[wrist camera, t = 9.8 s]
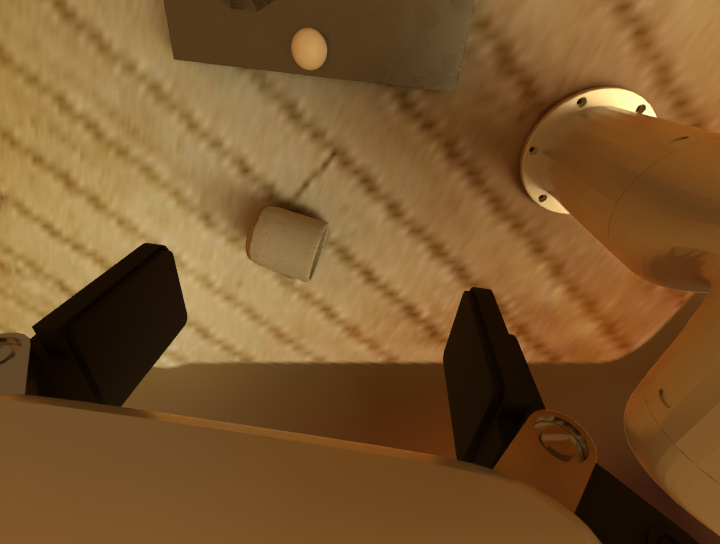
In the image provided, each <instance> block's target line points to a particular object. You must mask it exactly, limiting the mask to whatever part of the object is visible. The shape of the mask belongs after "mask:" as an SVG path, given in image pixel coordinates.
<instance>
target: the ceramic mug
mask: <svg viewBox="0 0 720 544" xmlns="http://www.w3.org/2000/svg"><path fill="white" fill-rule="evenodd" d="M328 228H329V224H328V223H327V222H325V221H321V220H318V219H315V218H312V217H308V216H305V215H302V214H298V213H295V212H292V211H289V210H286V209H283V208H279V207H273V206H265V207H263V208H261V209H260V210H259V211H258V212H257V214H256V215H255V217H254V219H253V221H252V223H251V226H250V228H249V232H248V235H247V240H246V253H247V256H248V258H249V259H250V260H252V261H253V262H255V263H257V264H258V265H261V266H263V267H266V268H269V269H270V270H272V271H273V272H275V273H277V274H278V275H281V276H283V277H286V278H290V279H298V280H301V281H303V282H307V283H308V282H310V281H311V279H312V277H313V275H314V272H315V270H316V267H317V265H318V262H319V259H320V256H321V253H322V251H323V247H324V244H325V241H326V237H327V233H328Z"/></svg>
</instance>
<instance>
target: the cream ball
mask: <svg viewBox="0 0 720 544" xmlns="http://www.w3.org/2000/svg"><path fill="white" fill-rule="evenodd" d="M291 51H292V55H293V58H294V60H295V61H296V63H297V64H298V65H299V66H300V67H302V68H304V69H306V70H315V69H317V68H319V67H320V66H322V64H323V63H324V62H325V59H326V56H327V45H326V42H325V40H324V38H323V36H322V35H321V34H320V33H319V32H318V31H317V30H315V29H312V28H304V29H301V30H299V31H298V32H297V33H296V34H295V36H294V37H293V40H292V44H291Z"/></svg>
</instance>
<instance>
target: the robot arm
mask: <svg viewBox="0 0 720 544" xmlns="http://www.w3.org/2000/svg"><path fill="white" fill-rule="evenodd" d="M578 99H580V102H579V103H578V104H577V101H578ZM637 107H638V108H637ZM636 108H637V110H636ZM531 147H533V149H532V150H531V151H529V149H530V148H531ZM520 177H521V181H522V184H523V186H524V188H525V191H526V192H527V194H528V195H529V196H530V197H531V199H532V200H533V201H534V202H535V203H536V204H538V205H539V206H541V207H543V208H544V209H546V210H548V211H551V212H554V213H559V214H571V215H572V216H573V217H575V218H576V219H577V220H578V221H579V222H580V223H581V224H582V225H583V226H584V227H585V228H586V229H587V230H588V231H589V232H590V233H591V234H592V235H593V236H594V237H595V238H597V239H598V240H599V241H600V242H601V243H602V244H603V245H604V246H605V247H606V248H607V249H608V250H609V251H610V252H611V253H612V254H613V255H615V256H616V257H617V258H618V259H619V260H620V261H621V262H622V263H623V264H624V265H626V266H627V267H628V268H629V269H630V270H631V271H632V272H634V273H635V274H636V275H638V276H639V277H641V278H643V279H644V280H646V281H648V282H650V283H653V284H656V285H659V286H662V287H665V288H669V289H674V290H680V291H689V292H708V295H707V296H706V298H705V300H704V302H703V303H702V305H701V306H700V307H699V309H698V310H697V311H696V312H695V314H694V315H693V316H692V318H691V319H690V320H689V321H688V323H687V326H686V327H685V328H684V329H683V331H682V332H681V333H680V334H679V335H678V337H677V338H676V339H675V340H674V341H673V343H672V344H671V345H670V346H669V347H668V349H667V350H666V351H665V352H664V353H663V355H662V356H661V357H660V358H659V360H658V361H657V362H656V363H655V364H654V366H653V367H652V368H651V369H650V370H649V372H648V373H647V375H646V376H645V377H644V379H643V380H642V381H641V382H640V384H639V385H638V386H637V388H636V389H635V391H634V392H633V394H632V395H631V397H630V399H629V401H628V403H627V406H626V409H625V414H624V428H625V433H626V436H627V439H628V442H629V444H630V447H631V448H632V450H633V452H634V454H635V455H636V457H637V458H638V460H639V462H640V463H641V465H642V466H643V467H644V469H645V470H646V471H647V472H648V474H649V475H650V476H651V477H652V478H653V479H654V480H655V482H656V483H657V484H658V485H659V486H660V487H661V488H662V489H663V490H664V491H665V492H667V494H668V495H670V497H672V498H673V499H674V500H675V501H676V502H677V503H678V504H680V505H681V506H682V507H683V508H684V509H685V510H686V511H688V512H689V513H690V514H691V515H693V516H694V517H695V518H696V519H698V520H699V521H700V522H702V523H703V524H704V525H706V526H707V527H708V528H710V529H711V530H712V531H714V532H715V533H716V534H718V535H719V536H720V134H719V133H715V132H711V131H708V130H704V129H700V128H696V127H692V126H688V125H684V124H680V123H676V122H672V121H668V120H664V119H660V118H657V115H656V113H655V111H654V109H653V107H652V106H651V104H650V103H649V102H648V101H647V100H646V99H645V98H644V97H643V96H641V95H639V94H637V93H636V92H634V91H632V90H628V89H624V88H619V87H610V86H605V87H594V88H590V89H587V90H583V91H580V92H577V93H575V94H573V95H571V96H569V97H567V98H565V99H564V100H562V101H561V102H559V103H558V104H556V105H555V106H553V107H552V108H551V109H550V110H549V111H548V112H547V113H546V114H544V115H543V116H542V118H541V119H540V120H539V121H538V122H537V124H536V125H535V126H534V127H533V129H532V131H531V132H530V134H529V136H528V137H527V139H526V142H525V144H524V147H523V149H522V153H521V158H520ZM540 195H542V196H541V197H539V196H540ZM186 322H187V312H186V307H185V303H184V299H183V295H182V290H181V286H180V282H179V277H178V273H177V269H176V265H175V260H174V256H173V253H172V252H171V251H169V250H168V248H167V247H166V246H164V245H158V244H150V243H144V244H142V245H141V246H140V247H138V248H137V249H135V250H134V251H133V252H131V253H130V254H129V255H127V256H126V257H125V258H123V259H122V260H121V261H119V262H118V263H117V264H115V265H114V266H113V267H111V268H110V269H109V270H107V271H106V272H105V273H103V274H102V275H101V276H99V277H98V278H97V279H95V280H94V281H93V282H91V283H90V284H89V285H87V286H86V287H85V288H83V289H82V290H81V291H79V292H78V293H76V294H75V295H74V296H72V297H71V298H70V299H68V300H67V301H66V302H64V303H63V304H62V305H60V306H59V307H58V308H56V309H55V310H54V311H52V312H51V313H50V314H48V315H47V316H46V317H44V318H43V319H42V320H40V321H39V322H38V323H36V324H35V325H34V326H32V328H33V329H34V331H35V333H36V335H35V336H34V337H32V338H31V339H30V338H28V337H27V336H26V335H24V334H20V333H3V334H0V544H699V543H698V542H697V541H696V540H694V539H693V538H692V537H691V536H690V535H689V534H688V533H686V532H685V531H684V530H682V529H681V528H680V527H678V526H677V525H676V524H675V523H673V522H672V521H671V520H670V519H668V518H667V517H666V516H664V515H663V514H662V513H660V512H659V511H658V510H657V509H655V508H654V507H653V506H651V505H650V504H649V503H647V502H646V501H645V500H643V499H642V498H641V497H640V496H639V495H637V494H636V493H635V492H633V491H632V490H631V489H629V488H628V487H627V486H625V485H624V484H623V483H622V482H620V481H619V480H618V479H617V478H615V477H614V476H612V475H611V474H610V473H609V472H608V471H606V470H604V468H602V467H601V466H599V465H598V464H597V463H596V459H597V452H596V448H595V445H594V443H593V441H592V439H591V438H590V436H589V435H588V434H587V432H586V431H585V430H584V429H583V428H582V427H581V426H580V425H579V424H577V423H576V422H575V421H574V420H572V419H571V418H569V417H567V416H565V415H564V414H562V413H558V412H556V411H553V410H546V409H545V406H544V404H543V402H542V399H541V397H540V394H539V392H538V389H537V387H536V384H535V382H534V380H533V377H532V375H531V372H530V370H529V367H528V365H527V362H526V360H525V357H524V355H523V353H522V350H521V348H520V345H519V343H518V340H517V339H516V337H515V336H514V335H512V334H509V333H508V331H507V328H506V326H505V323H504V320H503V318H502V315H501V313H500V310H499V307H498V305H497V302H496V300H495V297H494V294H493V292H492V290H490V289H483V288H476V287H472V288H471V289H470V291H464V293H463V295H462V298H461V302H460V305H459V308H458V311H457V314H456V317H455V320H454V323H453V326H452V329H451V332H450V335H449V338H448V341H447V344H446V347H445V351H444V356H443V364H444V371H445V378H446V385H447V392H448V399H449V406H450V413H451V421H452V428H453V435H454V442H455V449H456V456H457V460H455V459H450V458H446V457H441V456H435V455H429V454H424V453H418V452H412V451H406V450H400V449H394V448H389V447H383V446H377V445H370V444H363V443H357V442H351V441H345V440H337V439H332V438H325V437H319V436H312V435H306V434H300V433H293V432H286V431H279V430H273V429H267V428H260V427H252V426H247V425H240V424H233V423H227V422H220V421H213V420H206V419H200V418H193V417H187V416H180V415H173V414H166V413H158V412H152V411H145V410H138V409H131V408H124V407H121V406H122V405H123V403H124V402H125V401H126V400H127V398H128V397H129V396H130V394H131V393H132V392H133V391H134V389H135V388H136V387H137V385H138V384H139V383H140V382H141V380H142V379H143V378H144V376H145V375H146V374H147V373H148V372H149V370H150V369H151V368H152V366H153V365H154V364H155V363H156V361H157V360H158V359H159V358H160V356H161V355H162V354H163V353H164V351H165V350H166V349H167V347H168V346H169V345H170V344H171V342H172V341H173V340H174V339H175V337H176V336H177V335H178V333H179V332H180V331H181V330H182V328H183V327H184V326H185V324H186Z"/></svg>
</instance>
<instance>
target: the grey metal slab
mask: <svg viewBox="0 0 720 544" xmlns="http://www.w3.org/2000/svg"><path fill="white" fill-rule="evenodd" d="M474 3H475V0H164V4H165V10H166V15H167V21H168V27H169V33H170V39H171V45H172V50H173V56H174V59H176V60H184V61H193V62H201V63H210V64H218V65H227V66H235V67H243V68H252V69H260V70H269V71H277V72H286V73H294V74H302V75H311V76H319V77H328V78H336V79H345V80H353V81H362V82H370V83H378V84H387V85H395V86H404V87H412V88H421V89H429V90H438V91H446V92H454V93H455V89H456V84H457V80H458V75H459V71H460V66H461V62H462V57H463V53H464V48H465V44H466V39H467V34H468V30H469V25H470V21H471V16H472V12H473V7H474ZM304 28H312V29H315V30H317V31H318V32H319V33H320V34H321V35H322V36H323V38H324V40H325V42H326V45H327V56H326V59H325V62H324V63H323V64H322V66H320V67H319V68H317V69H315V70H306V69H304V68H302V67H300V66H299V65H298V64H297V63H296V61H295V60H294V58H293V55H292V51H291V44H292V40H293V37H294V36H295V34H296V33H297V32H298V31H299V30H301V29H304Z"/></svg>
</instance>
